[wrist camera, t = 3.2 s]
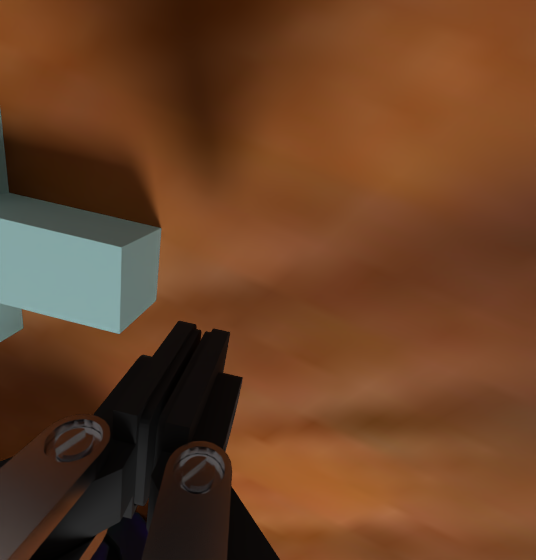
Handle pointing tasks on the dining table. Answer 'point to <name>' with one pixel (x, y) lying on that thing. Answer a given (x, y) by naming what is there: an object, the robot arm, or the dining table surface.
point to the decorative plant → (123, 540)
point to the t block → (72, 263)
